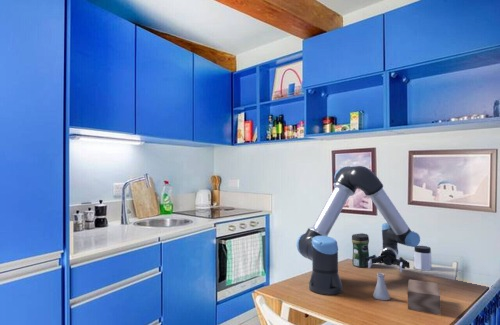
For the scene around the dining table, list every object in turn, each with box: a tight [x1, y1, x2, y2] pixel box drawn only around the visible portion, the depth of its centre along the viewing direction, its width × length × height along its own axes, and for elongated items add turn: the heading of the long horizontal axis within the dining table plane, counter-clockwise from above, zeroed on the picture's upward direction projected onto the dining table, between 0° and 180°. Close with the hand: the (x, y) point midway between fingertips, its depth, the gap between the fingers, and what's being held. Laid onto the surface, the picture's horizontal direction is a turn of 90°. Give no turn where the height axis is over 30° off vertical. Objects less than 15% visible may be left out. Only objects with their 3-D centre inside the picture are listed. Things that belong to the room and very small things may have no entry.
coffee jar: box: [351, 232, 370, 268], centre depth 185 cm, size 10×8×19 cm
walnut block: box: [406, 278, 442, 316], centre depth 128 cm, size 11×16×7 cm
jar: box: [413, 245, 432, 272], centre depth 178 cm, size 9×8×12 cm
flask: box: [372, 272, 391, 301], centre depth 135 cm, size 7×7×10 cm
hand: (384, 267), depth 145 cm, fingers open, 13 cm apart
